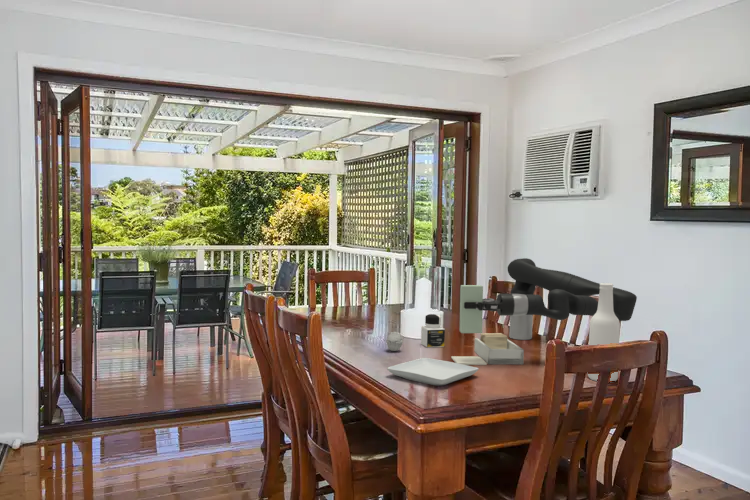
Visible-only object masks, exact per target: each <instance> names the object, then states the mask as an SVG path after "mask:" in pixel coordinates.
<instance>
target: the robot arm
mask: <svg viewBox="0 0 750 500" xmlns="http://www.w3.org/2000/svg"><path fill="white" fill-rule="evenodd" d="M507 273H508V275H509V277H510V278H511V279H513V280H514V281H515V283H514V286H513V287H512V288H511V290H510V293H498V295H497V296H496V299H494V298H489V297H488V298H483V300H482V302H476V303H475V302H465V303H464V308H465V309H475V308H476V309H477V310H478V309H479V310H483V311H489V312H496V313H497V315H499V316H501V317H502V316H503V317H504V316H505V317H506V316H509V335H508V337H509V338H510V339H512V340H513V339H514V340H519V341H523V340H526V341H527V340H532V339H533V317H534V316H541V317H546V318H550V319H552V320H557V321H564V320H567V319H568V318H569V316H570V315H572V316H591V317H593V315H594V314H595V313H596V312H597V308H598V300H597V299H596V298H594V297H593V296H596V295H597V296H598V295H599V292H600V289H599V287H600V283H599V282H596V281H593V280H592V281H591V280H590V279H587V278H584V277H582V276H578V275H575V274H572V273H569V272H565V271H562V270H561V271H560V270H554V269H547V268H542V267H539V266H536V263H535V261H533V260H532V259H531V258H528V257H527V258H525V257H524V258H515V259H514V260H512V261H510V263H509V264H508V266H507ZM536 286H537V287H540V288H541V289H545V290H546V291H549V292H548V294H547V307H546V306H545V303H544V300H543V297H542V295H540V294H535V290H536ZM637 299H638V296H637V295H636V294H635V293H634V292H631V291H628V290H625V289H622V288H618V287H614V286H613V311H614V314H615V315H616V317H617V318H618V320H619V322H628V321H630V320H631V318H632V317H633V313H634V311H635V306H636V305H637V304H636V303H637Z"/></svg>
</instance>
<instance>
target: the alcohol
mask: <svg viewBox="0 0 750 500" xmlns="http://www.w3.org/2000/svg"><path fill="white" fill-rule="evenodd" d="M599 284H600V287H599V289H600V292H599V294H598V300H597V301H598V308H597V312H596V313H595V314H594V315H593V316H591V318H590V321H589V332H588V333H589V335H588V336H589V337H588V346H589V345H597V344H610V343H619V344H620V337H621V336H620V335H621V333H620V332H621V324H620V321H619V320H618V318H617V317H616V315H615V314H614V311H613V287H614V284H613V283H611V282H600V283H599ZM598 375H599V374H588V373H587V376H588V378H589V380H591V381H594V382H598V381H597V379H598ZM618 379H619V371H618V372H614V373H612V374H611V378H610V381H615V382H616V381H617V380H618Z"/></svg>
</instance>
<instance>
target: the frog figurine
mask: <svg viewBox="0 0 750 500" xmlns="http://www.w3.org/2000/svg"><path fill="white" fill-rule="evenodd" d="M403 343H404V340H403V337H402V335H401V333H400V332H398V331H391V332H390V333H389V334H388V337H387V339H386V345H387V348H388V350H389V351H391V352H397V351H399V350H400V349H401V347H402V345H403Z"/></svg>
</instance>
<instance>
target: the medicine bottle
mask: <svg viewBox="0 0 750 500" xmlns="http://www.w3.org/2000/svg"><path fill="white" fill-rule="evenodd" d="M424 318H425V319H424V320H425V321H424V322H425V325H421V326H420V327H421V329H420V330H421V331H420V332H421V333H420V334H421V335H420V344H421V345H422V346H424V347H426V348H427V349H428V348H429V349H430V348H444V347H445V340H446V339H445V338H446V337H445V336H446V335H445V333H446V329H445V328H443V326H442V316H441V315H439V314H434V313H433V314H432V313H430V314H427V315H425V317H424Z"/></svg>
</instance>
